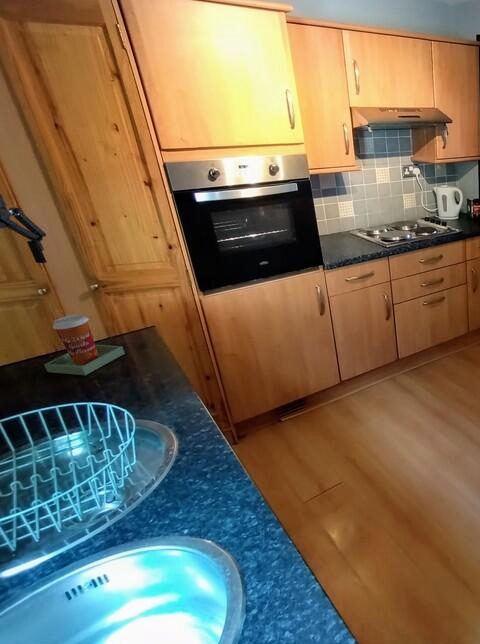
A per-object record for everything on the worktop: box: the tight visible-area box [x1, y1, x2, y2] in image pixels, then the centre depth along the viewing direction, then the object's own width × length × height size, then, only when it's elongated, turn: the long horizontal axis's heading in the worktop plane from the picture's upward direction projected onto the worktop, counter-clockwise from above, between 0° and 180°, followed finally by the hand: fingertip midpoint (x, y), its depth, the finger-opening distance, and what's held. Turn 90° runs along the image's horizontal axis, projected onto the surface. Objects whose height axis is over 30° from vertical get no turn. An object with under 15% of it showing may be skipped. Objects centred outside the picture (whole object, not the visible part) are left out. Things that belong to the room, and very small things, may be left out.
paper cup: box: [52, 313, 99, 365], centre depth 134 cm, size 8×8×14 cm
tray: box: [43, 343, 126, 376], centre depth 136 cm, size 13×13×3 cm
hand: (15, 270), depth 127 cm, fingers open, 13 cm apart
